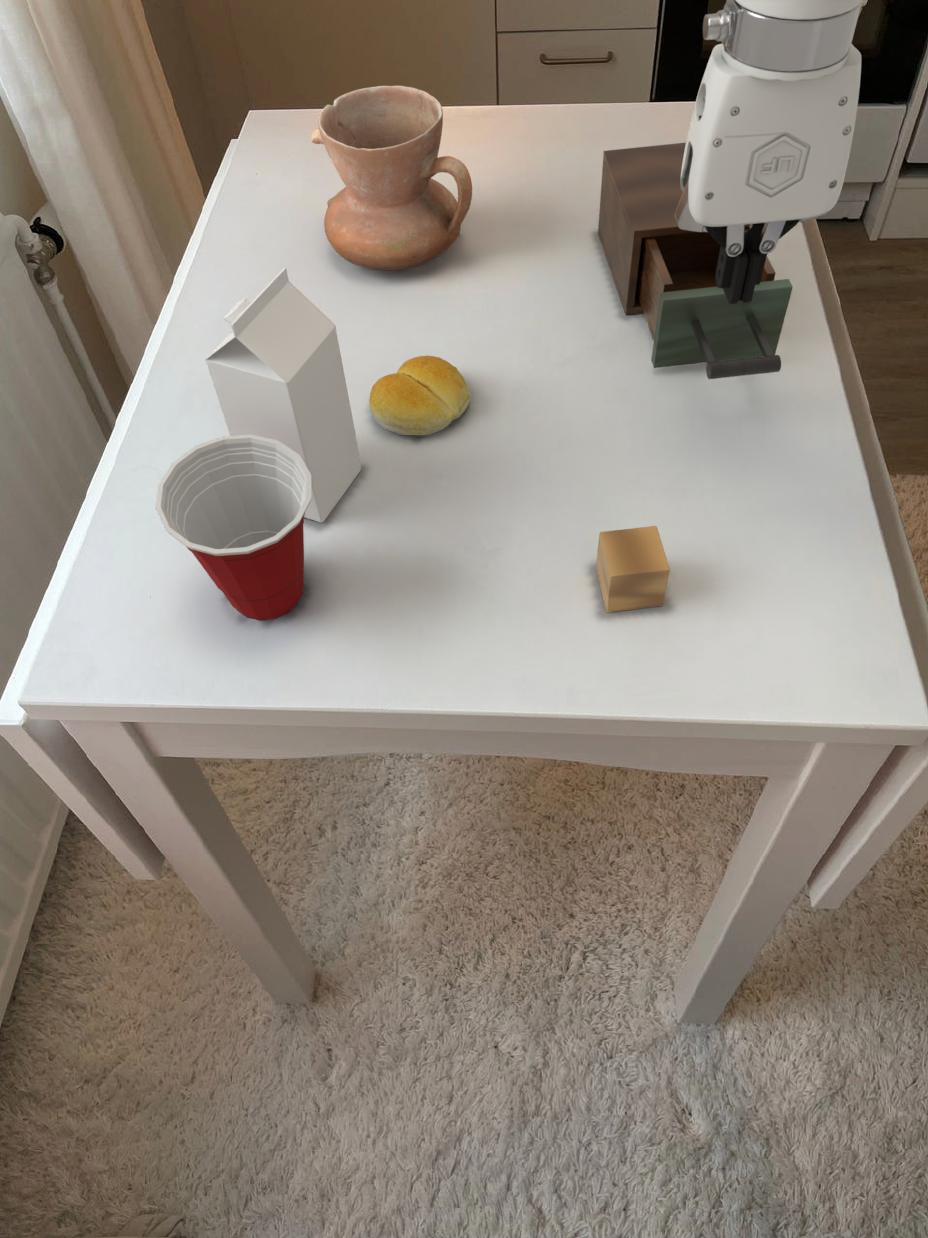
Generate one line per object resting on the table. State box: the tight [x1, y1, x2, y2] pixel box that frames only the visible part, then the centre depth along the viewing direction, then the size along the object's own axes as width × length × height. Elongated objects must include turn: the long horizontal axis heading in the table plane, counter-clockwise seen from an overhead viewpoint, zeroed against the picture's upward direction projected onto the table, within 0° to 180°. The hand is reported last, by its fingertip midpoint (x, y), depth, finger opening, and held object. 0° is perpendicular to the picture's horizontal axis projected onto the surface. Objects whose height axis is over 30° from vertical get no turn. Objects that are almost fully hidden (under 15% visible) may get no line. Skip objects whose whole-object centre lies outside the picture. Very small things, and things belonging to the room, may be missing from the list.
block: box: [595, 525, 671, 613], centre depth 72 cm, size 4×4×4 cm
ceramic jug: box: [310, 85, 473, 271], centre depth 98 cm, size 18×14×14 cm
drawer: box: [636, 227, 794, 380], centre depth 87 cm, size 21×11×7 cm, turn 6°
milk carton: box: [205, 267, 362, 523], centre depth 75 cm, size 7×7×19 cm
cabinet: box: [597, 142, 750, 316], centre depth 95 cm, size 15×13×9 cm
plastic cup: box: [155, 435, 311, 621], centre depth 71 cm, size 11×11×12 cm
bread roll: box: [369, 355, 472, 436], centre depth 86 cm, size 8×9×4 cm
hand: (735, 292), depth 72 cm, fingers closed
